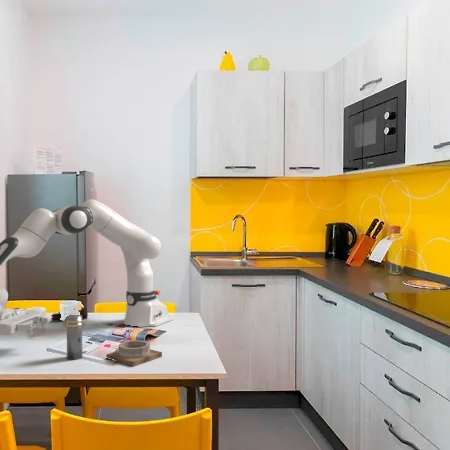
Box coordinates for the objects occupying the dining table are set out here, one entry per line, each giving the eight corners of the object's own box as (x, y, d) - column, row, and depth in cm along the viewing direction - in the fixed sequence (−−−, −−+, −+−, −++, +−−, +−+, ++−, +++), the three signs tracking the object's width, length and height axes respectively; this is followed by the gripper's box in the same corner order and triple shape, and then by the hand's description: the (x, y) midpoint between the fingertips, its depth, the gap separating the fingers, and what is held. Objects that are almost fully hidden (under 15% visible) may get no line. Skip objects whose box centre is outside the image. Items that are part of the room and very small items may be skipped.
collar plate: (135, 349, 177) (134, 337, 177) (161, 356, 170) (161, 343, 170) (106, 358, 167) (106, 345, 167) (133, 366, 159) (133, 352, 159)
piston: (76, 354, 172) (75, 313, 171) (85, 357, 169) (85, 316, 168) (63, 358, 168) (62, 316, 167) (73, 361, 164) (72, 318, 164)
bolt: (51, 325, 219) (86, 321, 226) (53, 322, 215) (88, 317, 222) (50, 313, 221) (84, 308, 228) (51, 309, 217) (86, 305, 224)
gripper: (-17, 319, 162) (22, 321, 160) (21, 306, 182) (56, 308, 180) (-17, 338, 162) (22, 341, 160) (21, 324, 182) (56, 326, 180)
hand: (40, 324), depth 170 cm, fingers open, 8 cm apart
